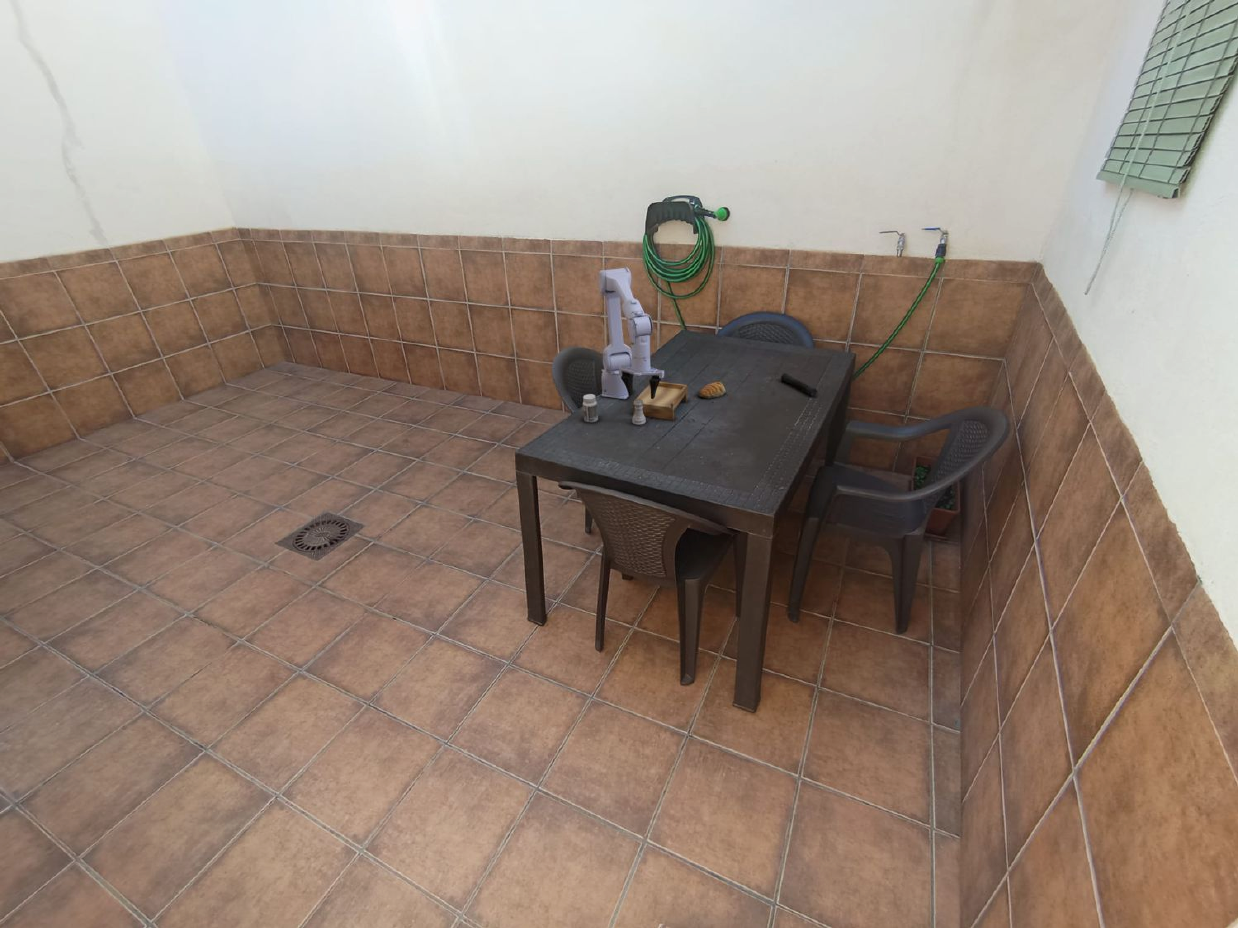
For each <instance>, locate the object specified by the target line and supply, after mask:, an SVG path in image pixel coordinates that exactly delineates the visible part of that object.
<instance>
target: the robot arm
mask: <svg viewBox="0 0 1238 928" xmlns="http://www.w3.org/2000/svg"><path fill="white" fill-rule="evenodd" d="M597 282H598V291H599V295H600V296H603V297H604V299H605V300H604V301H605V307H606V318H607V328H608V338H609V344H608V345H607V346H606V347H605V348H604V349H603V350H602V366H603V369H604V370H603V371H602V374H601V393H602V394H601V397H605V398H613V399H617V400H619V399H620V400H626V399H627V398H628V397H632V395H634V384H633V383H634V376H635V377H641V376H643V377H644V376H645V377H651V378H650V379H649V380H648V383H649V382H650V387H651V399H654V398H655V394H656V390H657V387H658V384H659V382H661V379H664V378H665V370H663V369H657V368H655V367H651V336H652V334H653V333H654V323H653V320H652V316H651V315H650V314H648V313H645V311H644V309H643V307H642V305H641V303H640V300H639V299H637V298H634V294H633V292H632V289H631V285H632V273H631V270H630V269H629V267H621V268H613V269H601V270H600V271H599V272H598V276H597ZM621 303H622V305H621ZM622 313H623V315H624V317H625V319H626V321H627V331H628V334H629V335H628V336H629V342H630V345H631V347H630V346H629V345H627V344H626V343H625V342H624V332H623V331H624V330H623V322H622V321H623V320H622Z"/></svg>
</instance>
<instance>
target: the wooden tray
mask: <svg viewBox="0 0 1238 928" xmlns="http://www.w3.org/2000/svg"><path fill="white" fill-rule="evenodd" d="M636 399H637V400H639V399H640V400H641V399H642V401H643V402H644V403H643V405H642V406H643V408H642V410H643V415H644V416H645V417H648V418H655V419H661V420H669V421H674V419H675V409H676V408H677V407H678V405H679V404H680V403H681V402H683V403H687V402H688V384H682V383H675V382H665V381H660V382H659V384H658V387H657V390H656V394H655V398H654V399H651V387H650V382H649V381H648V386H647V387H646V388H645V389H644V390H643V391H642V392H641V393H640V394H639V395H638V396H637V397H636ZM634 402H635V400H634V401H633V402H632V410H633V413H632V414H633V415H634V414H635V408H634V407H635V405H634Z"/></svg>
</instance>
